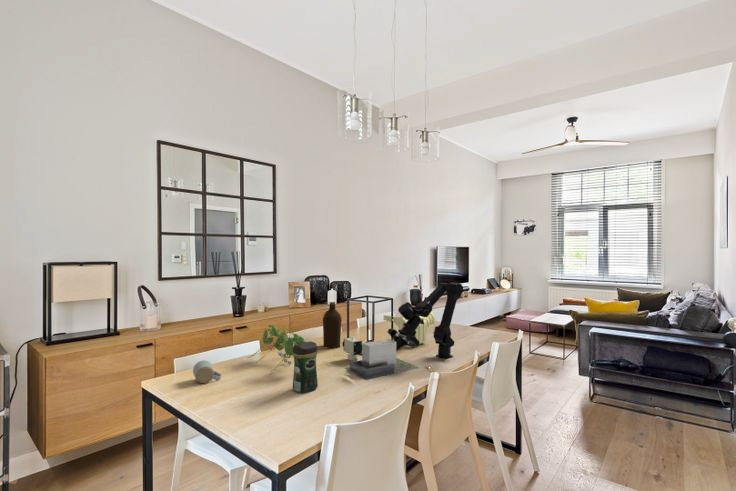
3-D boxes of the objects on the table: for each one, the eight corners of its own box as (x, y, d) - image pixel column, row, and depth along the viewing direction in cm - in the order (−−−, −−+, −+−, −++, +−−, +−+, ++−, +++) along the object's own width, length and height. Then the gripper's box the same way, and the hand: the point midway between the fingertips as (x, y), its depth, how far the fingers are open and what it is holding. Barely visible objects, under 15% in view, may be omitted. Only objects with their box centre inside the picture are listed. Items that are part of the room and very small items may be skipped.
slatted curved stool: (406, 351, 201) (406, 318, 201) (383, 346, 211) (383, 315, 211) (434, 341, 224) (434, 311, 224) (412, 336, 234) (412, 308, 234)
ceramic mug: (195, 385, 149) (196, 366, 149) (192, 379, 156) (193, 361, 156) (223, 381, 155) (223, 363, 155) (219, 375, 162) (219, 358, 162)
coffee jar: (309, 383, 153) (309, 338, 153) (320, 388, 148) (321, 342, 148) (288, 389, 146) (289, 342, 146) (300, 395, 141) (300, 346, 141)
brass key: (424, 368, 173) (424, 366, 173) (430, 368, 173) (430, 366, 173) (429, 374, 165) (429, 371, 165) (436, 374, 166) (436, 371, 166)
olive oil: (342, 348, 205) (342, 303, 205) (322, 349, 204) (323, 304, 204) (340, 343, 216) (340, 300, 216) (322, 344, 214) (322, 301, 214)
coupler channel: (395, 359, 186) (396, 351, 186) (419, 369, 171) (419, 361, 171) (344, 370, 170) (344, 361, 170) (365, 382, 155) (365, 373, 155)
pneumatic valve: (355, 365, 176) (356, 340, 176) (341, 359, 185) (342, 335, 185) (364, 363, 180) (365, 338, 180) (350, 357, 189) (350, 334, 189)
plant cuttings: (289, 395, 158) (324, 356, 169) (267, 368, 151) (305, 329, 162) (255, 373, 184) (287, 340, 196) (234, 349, 177) (269, 317, 189)
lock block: (389, 363, 176) (389, 338, 176) (396, 367, 171) (397, 341, 171) (361, 369, 168) (362, 343, 168) (369, 373, 163) (369, 346, 163)
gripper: (433, 340, 175) (415, 367, 169) (407, 332, 191) (390, 356, 185) (420, 325, 171) (401, 352, 165) (396, 318, 186) (377, 343, 180)
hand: (393, 351), depth 174 cm, fingers closed, pressing on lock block
